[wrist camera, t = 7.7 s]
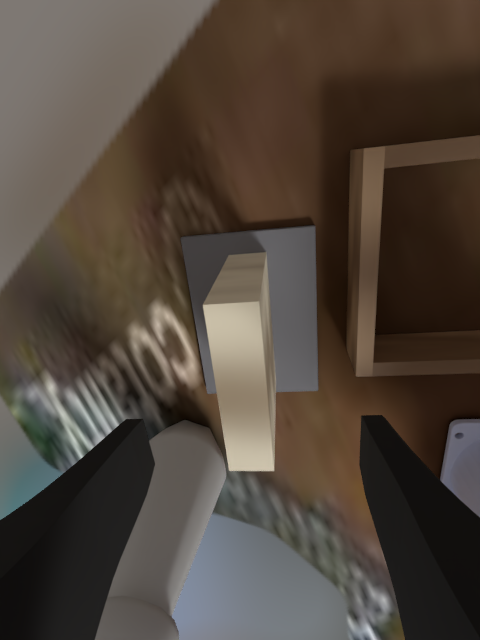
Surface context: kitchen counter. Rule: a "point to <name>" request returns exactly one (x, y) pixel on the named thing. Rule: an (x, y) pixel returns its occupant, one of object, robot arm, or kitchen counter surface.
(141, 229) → the kitchen counter surface
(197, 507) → the salt shaker
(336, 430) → the kitchen counter surface
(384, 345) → the tray
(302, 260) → the rubber mat
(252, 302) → the cream flat block
